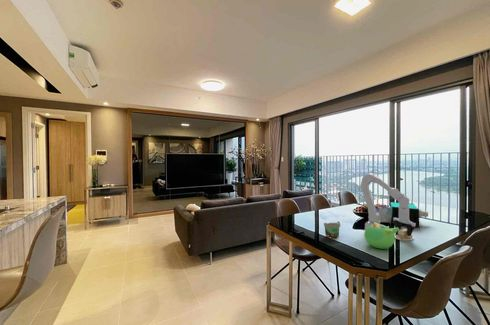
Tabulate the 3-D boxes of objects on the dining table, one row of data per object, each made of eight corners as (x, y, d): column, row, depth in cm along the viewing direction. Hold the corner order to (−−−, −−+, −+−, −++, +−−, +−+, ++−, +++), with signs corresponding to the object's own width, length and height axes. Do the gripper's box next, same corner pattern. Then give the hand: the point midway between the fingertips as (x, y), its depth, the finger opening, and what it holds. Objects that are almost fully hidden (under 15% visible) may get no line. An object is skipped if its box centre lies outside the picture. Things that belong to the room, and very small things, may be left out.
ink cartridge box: (388, 221, 189) (388, 204, 189) (391, 222, 183) (391, 205, 183) (376, 220, 191) (376, 204, 191) (379, 222, 185) (379, 205, 185)
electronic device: (431, 229, 164) (431, 210, 164) (392, 225, 177) (391, 207, 177) (424, 221, 186) (424, 204, 186) (390, 217, 199) (390, 201, 199)
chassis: (401, 241, 142) (401, 237, 142) (393, 237, 148) (393, 234, 148) (414, 239, 144) (414, 236, 144) (405, 236, 150) (405, 233, 150)
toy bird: (369, 240, 145) (368, 218, 145) (399, 246, 133) (399, 223, 133) (361, 248, 132) (360, 224, 132) (394, 256, 120) (393, 230, 120)
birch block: (403, 238, 144) (403, 231, 144) (398, 236, 147) (398, 229, 147) (410, 237, 145) (410, 230, 145) (405, 235, 149) (405, 228, 149)
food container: (329, 239, 146) (329, 225, 146) (323, 236, 152) (323, 222, 152) (344, 237, 149) (344, 223, 149) (338, 234, 155) (338, 221, 155)
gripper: (419, 216, 140) (419, 237, 140) (399, 211, 154) (399, 230, 154) (410, 216, 138) (410, 237, 138) (390, 211, 152) (391, 230, 152)
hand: (404, 233), depth 146 cm, fingers open, 7 cm apart
